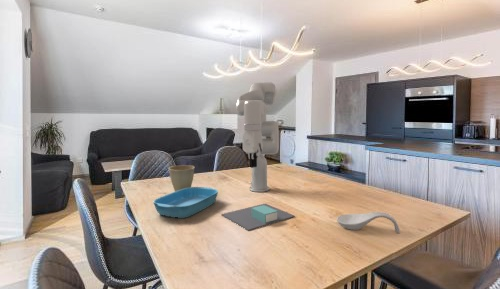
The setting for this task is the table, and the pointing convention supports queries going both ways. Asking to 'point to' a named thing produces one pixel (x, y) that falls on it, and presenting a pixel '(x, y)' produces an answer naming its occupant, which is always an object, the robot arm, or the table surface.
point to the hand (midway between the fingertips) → (253, 167)
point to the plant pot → (181, 176)
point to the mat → (249, 222)
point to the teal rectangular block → (264, 214)
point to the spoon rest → (363, 220)
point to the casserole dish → (185, 201)
